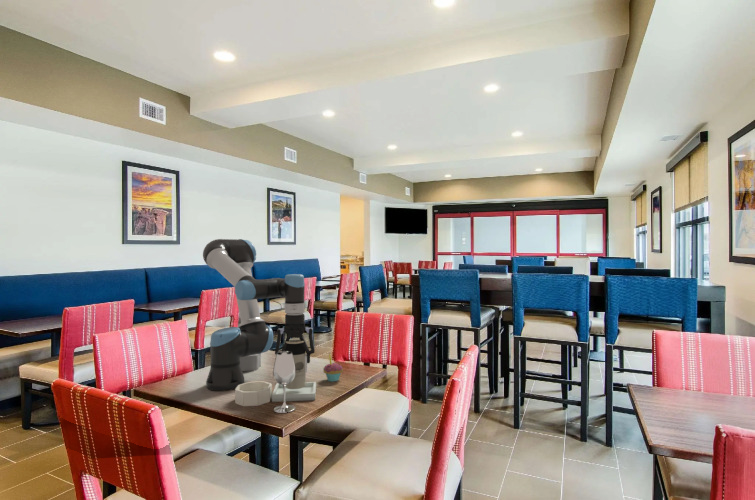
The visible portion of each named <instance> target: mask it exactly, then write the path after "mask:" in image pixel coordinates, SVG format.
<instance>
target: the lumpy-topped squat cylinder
mask: <svg viewBox="0 0 755 500" xmlns="http://www.w3.org/2000/svg"><path fill="white" fill-rule="evenodd" d="M261 354H262V353H261ZM261 354H255V355H250V356H245V357H240V367H241V370H242V372H254V370H255V371H258V370H259V368H260V367H262V366H261V365H262V358H261V357H262V355H261Z"/></svg>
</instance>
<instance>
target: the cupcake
mask: <svg viewBox="0 0 755 500" xmlns="http://www.w3.org/2000/svg"><path fill="white" fill-rule="evenodd" d="M328 359H329V363H328V364H326V365H325V366H324V367H323V373H325V375H326V378H327V381H328V382H338V381H339V380H340V377H341V374H342V373H343V372H344V369H343V366H342V365H341V364H339V363H338V362H332V356H331V354H330V352H329V353H328Z"/></svg>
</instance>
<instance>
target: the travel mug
mask: <svg viewBox="0 0 755 500" xmlns="http://www.w3.org/2000/svg"><path fill="white" fill-rule="evenodd" d="M285 341H286V340H285ZM304 341H305V342H306V340H304ZM304 341H301V340H300V338H290V339H289V341H286V344H287V346H286V349H285V351H290V352H292V354H293V358H294V363H295V370H296V373H295V378H294V379H293V381H292V382H291V383H289V384H288V385H286V388H288V389H300V388H303V387H304V386H305V385H306V382H307V381H306V378H307V377H306V375H307V374H306V373H307V372H305V354H306V351H305V349H304V347H303V343H304Z"/></svg>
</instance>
